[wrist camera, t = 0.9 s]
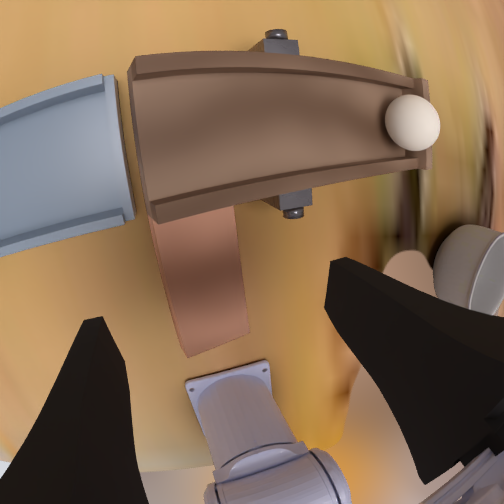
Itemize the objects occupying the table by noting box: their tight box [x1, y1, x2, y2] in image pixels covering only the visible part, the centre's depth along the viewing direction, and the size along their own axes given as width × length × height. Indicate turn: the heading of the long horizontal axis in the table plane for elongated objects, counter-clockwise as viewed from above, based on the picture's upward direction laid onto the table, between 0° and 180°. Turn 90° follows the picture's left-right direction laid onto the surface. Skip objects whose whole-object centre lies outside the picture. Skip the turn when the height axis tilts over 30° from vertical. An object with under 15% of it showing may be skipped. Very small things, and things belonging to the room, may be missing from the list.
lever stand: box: [249, 29, 312, 219], centre depth 18 cm, size 11×4×6 cm, turn 6°
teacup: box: [433, 225, 504, 315], centre depth 29 cm, size 14×11×8 cm
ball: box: [385, 95, 440, 151], centre depth 17 cm, size 4×4×4 cm
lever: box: [127, 51, 432, 358], centre depth 17 cm, size 15×20×3 cm
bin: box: [0, 74, 136, 257], centre depth 14 cm, size 9×16×4 cm, turn 96°
